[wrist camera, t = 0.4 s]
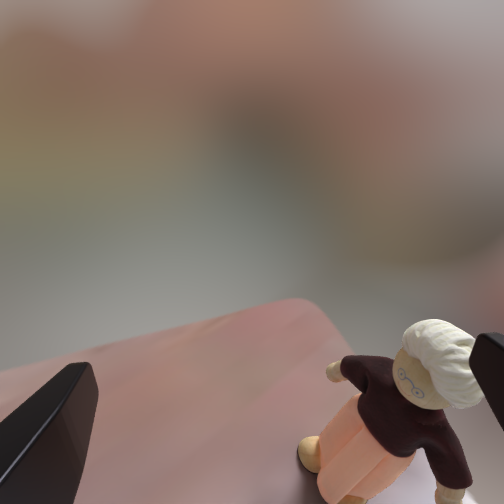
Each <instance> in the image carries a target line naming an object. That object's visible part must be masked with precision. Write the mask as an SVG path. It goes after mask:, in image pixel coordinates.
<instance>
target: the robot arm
mask: <svg viewBox="0 0 504 504" xmlns="http://www.w3.org/2000/svg"><path fill="white" fill-rule="evenodd" d="M469 367H470V369H471V371H472V373H473V375H474V377H475V379H476V381H477V383H478V385H479V386H480V388H481V390H482V392H483V394H484V396H485V398H486V400H487V402H488V403H489V405H490V407H491V409H492V411H493V413H494V414H495V416H496V418H497V420H498V422H499V424H500V425H501V427H502V429H503V431H504V335H503V334H500V333H497V332H493V333H481V334H479V335H478V336H477V338H476V340H475V343H474V345H473V348H472V351H471V354H470V356H469ZM97 402H98V386H97V383H96V379H95V376H94V373H93V369H92V366H91V364H90V363H88V362H79V363H70V364H68V365H67V366H65V367H64V368H63V369H62V370H61V371H60V372H58V373H57V374H56V375H55V376H54V377H53V378H52V379H50V380H49V381H48V382H47V383H46V384H45V385H43V386H42V387H41V388H40V389H39V390H38V391H36V392H35V393H34V394H33V395H32V396H31V397H29V398H28V399H27V400H26V401H25V402H24V403H22V404H21V405H20V406H19V407H18V408H17V409H15V410H14V411H13V412H12V413H11V414H10V415H8V416H7V417H6V418H5V419H4V420H3V421H2V422H0V504H73V503H74V499H75V496H76V493H77V490H78V487H79V483H80V480H81V477H82V473H83V469H84V465H85V461H86V456H87V451H88V446H89V441H90V436H91V432H92V427H93V422H94V417H95V412H96V407H97Z"/></svg>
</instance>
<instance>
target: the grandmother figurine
mask: <svg viewBox="0 0 504 504" xmlns="http://www.w3.org/2000/svg"><path fill="white" fill-rule="evenodd" d="M474 343H475V339H474V338H473V337H472V336H471V335H469V334H467V333H465V332H464V331H462V330H461V329H459V328H457V327H455V326H453V325H452V324H450V323H448V322H445V321H443V320H438V319H430V320H424V321H420V322H418V323H416V324H414V325H412V326H410V327H409V328H408V329H407V330H406V331H405V333H404V335H403V339H402V346H403V347H402V349H400V351H399V352H398V353H397V355H396V357H395V359H394V360H393V359H390V358H387V357H380V356H362V355H358V356H354V355H350V356H346V357H344V358H343V359H342V360H339V361H337V362H336V363H331V364H329V365H328V367H327V369H326V375H327V377H328V379H329V380H330V381H332V382H336V383H337V382H341V381H343V380H349V381H350V382H351V383H352V384H353V385H354V386H355V387H356V388H358V389H359V390H360V391H361V392H362V393H360V394H357V395H355V396H353V397H352V398H351V399H350V400H349V401H348V402H347V403H346V404H345V405H344V406H343V407H342V408H341V410H340V411H339V412H338V413H337V414H336V416H335V417H334V418H333V419H332V420H331V421H330V422H329V424H328V425H327V426H326V427H325V429H324V430H323V431H322V433H321V434H320V436H313V437H307V438H304V439H303V440H302V441H301V442H300V444H299V447H298V454H299V457H300V459H301V462H302V463H303V465H304V466H305V467H306V468H307V469H308V470H309V471H311V472H313V473H319V474H318V478H317V484H318V488H319V491H320V494H321V495H322V497H323V498H324V500H325V501H326V502H327V503H328V504H366V502H367V500H368V499H371V498H373V497H374V496H376V495H377V494H378V493H380V492H382V491H383V490H384V489H386V488H387V487H388V486H390V485H391V484H392V483H393V482H394V481H395V480H396V479H397V478H398V477H399V476H400V475H401V474H402V473H403V472H404V471H405V470H406V468H407V467H408V466H409V465H410V463H411V462H412V460H413V458H414V456H415V453H416V450H417V449H419V448H421V447H422V448H424V450H425V453H426V456H427V459H428V462H429V464H430V468H431V469H432V472H433V474H434V476H435V478H436V485H437V489H436V491H435V502H436V504H462V499H463V497H464V494H465V489H466V488H467V487H469V486H471V485H472V482H473V480H472V476H471V473H470V470H469V468H468V465H467V462H466V459H465V456H464V452H463V449H462V446H461V444H460V441H459V439H458V438H457V436H456V434H455V432H454V431H453V429H452V428H451V426H450V425H449V423H448V421H447V419H446V416H445V414H444V411H443V408H447V407H449V406H452V407H454V408H462V409H465V408H468V407H470V406H472V405H477V404H478V403H479V402H480V400H481V399H482V397H485V396H484V394H483V392H482V390H481V388H480V386H479V385H478V383H477V381H476V379H475V377H474V375H473V373H472V371H471V369H470V367H469V356H470V354H471V351H472V348H473V345H474Z"/></svg>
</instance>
